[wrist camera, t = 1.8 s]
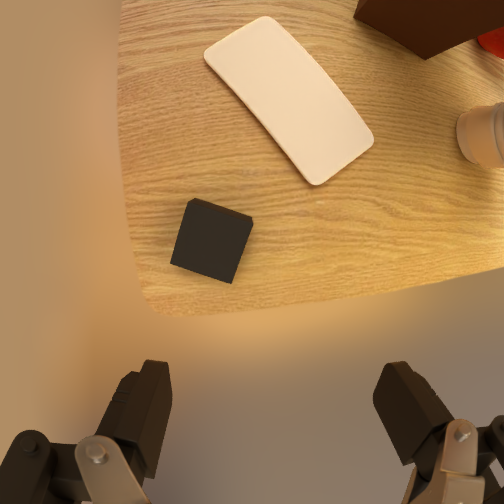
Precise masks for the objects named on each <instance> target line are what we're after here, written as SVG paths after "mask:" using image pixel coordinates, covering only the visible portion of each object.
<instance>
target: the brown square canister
mask: <svg viewBox="0 0 504 504" xmlns="http://www.w3.org/2000/svg"><path fill="white" fill-rule="evenodd" d="M354 18H355V19H357V20H359V21H361V22H363V23H365V24H367V25H369V26H371V27H373V28H375V29H377V30H378V31H380V32H382V33H384V34H385V35H387V36H389V37H391V38H392V39H394V40H395V41H397V42H399V43H400V44H402V45H403V46H405V47H407V48H408V49H410V50H411V51H413V52H414V53H416V54H417V55H419V56H420V57H421V58H423V59H424V60H427V59H429V58H431V57H433V56H435V55H437V54H439V53H441V52H443V51H446V50H448V49H450V48H452V47H454V46H457V45H459V44H461V43H463V42H466V41H468V40H470V39H473V38H475V37H478V36H480V35H483V34H485V33H488V32H490V31H493V30H495V29H498V28H501V27H504V0H359V2H358V5H357V8H356V11H355V14H354Z"/></svg>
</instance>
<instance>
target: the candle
mask: <svg viewBox="0 0 504 504" xmlns="http://www.w3.org/2000/svg"><path fill="white" fill-rule="evenodd" d="M456 134H457V140H458V144H459V147H460V149H461V151H462V153H463V154H464V156H465V157H466V158H467V159H468V160H469V161H470V162H472V163H479V164H480V165H481V166H483V167H485V168H504V102H501V103H496V104H494V105H493V106H477V107H474V108H472V109H471V110H470V112H464V113H462V114H461V115H460V117H459V118H458V121H457V126H456Z"/></svg>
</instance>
